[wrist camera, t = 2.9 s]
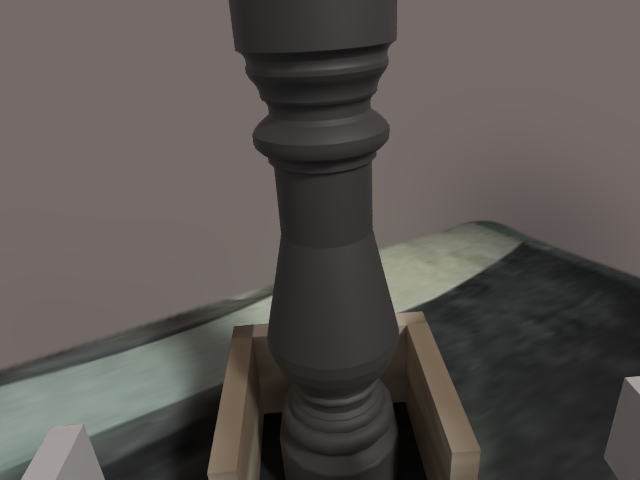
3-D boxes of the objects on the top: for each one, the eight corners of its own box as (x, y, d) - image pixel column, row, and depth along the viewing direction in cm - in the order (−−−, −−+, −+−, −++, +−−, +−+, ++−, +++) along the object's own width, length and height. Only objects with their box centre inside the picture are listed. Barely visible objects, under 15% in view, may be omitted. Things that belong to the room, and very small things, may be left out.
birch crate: (228, 561, 23) (207, 473, 20) (246, 401, 32) (233, 326, 29) (470, 540, 23) (480, 450, 20) (419, 387, 32) (422, 311, 29)
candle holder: (328, 548, 23) (274, -77, 12) (264, 460, 28) (184, -48, 17) (421, 477, 26) (447, -72, 15) (350, 409, 31) (330, -49, 20)
